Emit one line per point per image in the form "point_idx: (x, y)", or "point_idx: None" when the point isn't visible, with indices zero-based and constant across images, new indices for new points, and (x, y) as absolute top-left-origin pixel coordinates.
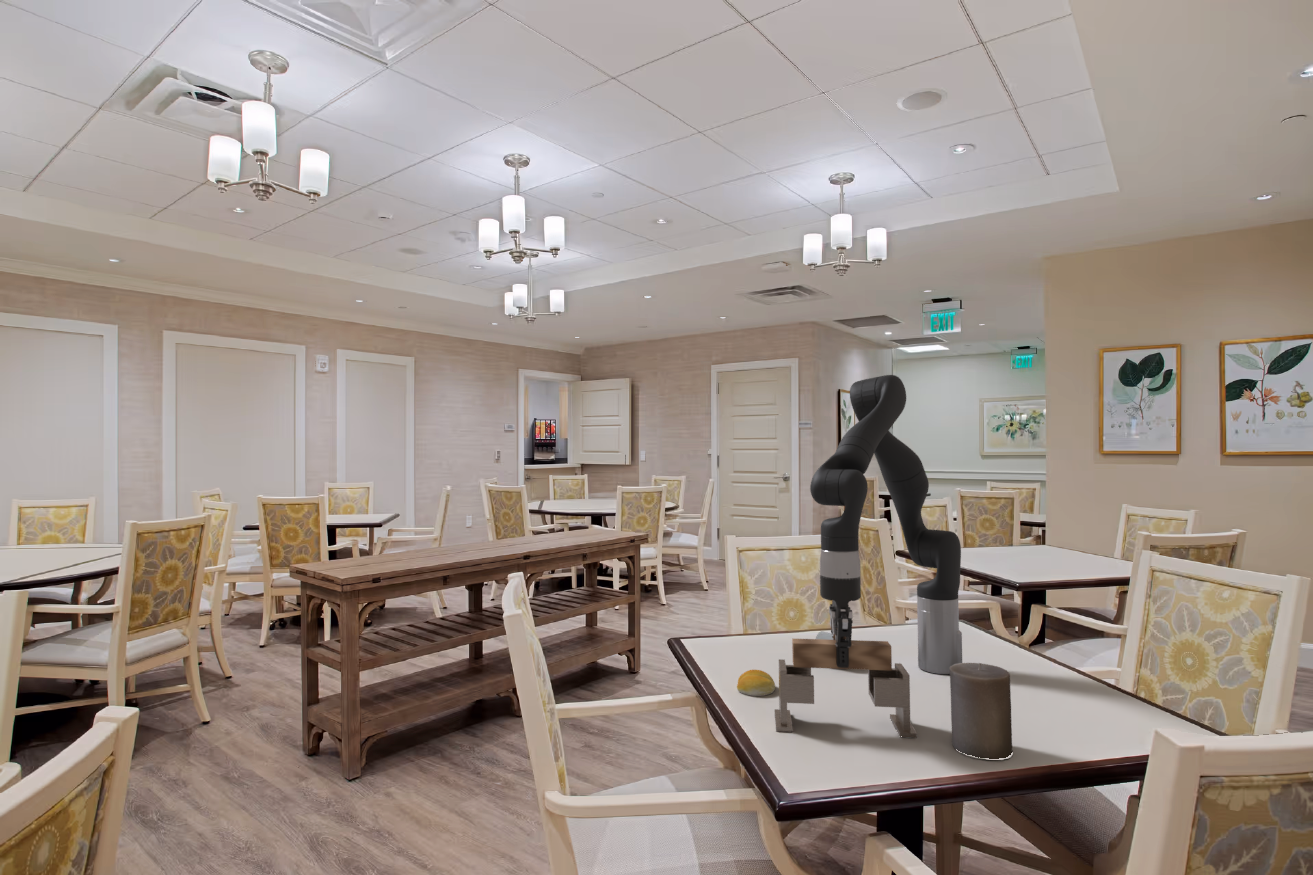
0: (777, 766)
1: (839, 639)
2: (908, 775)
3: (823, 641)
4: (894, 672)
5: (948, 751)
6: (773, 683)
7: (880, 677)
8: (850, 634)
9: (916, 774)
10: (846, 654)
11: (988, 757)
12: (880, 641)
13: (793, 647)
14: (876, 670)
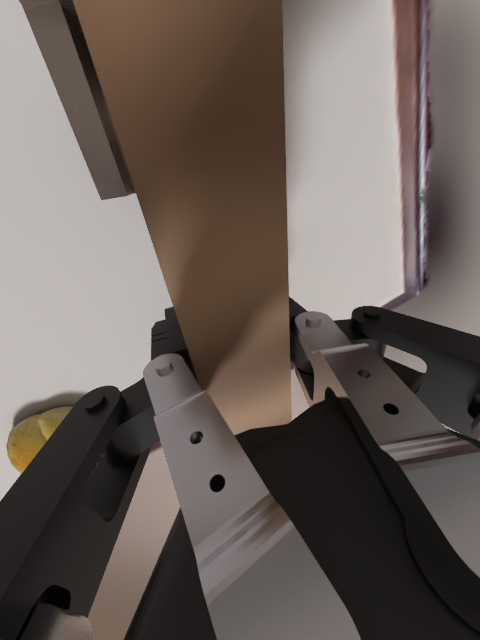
0: (349, 317)
1: (405, 369)
2: (383, 121)
3: (249, 420)
4: (69, 27)
5: None
6: (50, 420)
7: (110, 137)
8: (471, 339)
9: (381, 102)
10: (302, 308)
11: None
12: (113, 62)
13: None
14: (114, 155)
